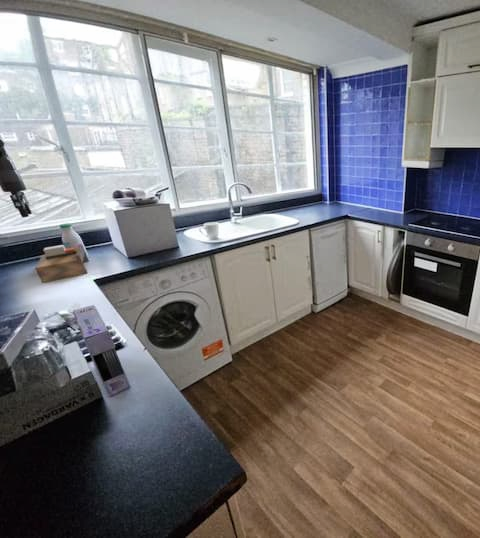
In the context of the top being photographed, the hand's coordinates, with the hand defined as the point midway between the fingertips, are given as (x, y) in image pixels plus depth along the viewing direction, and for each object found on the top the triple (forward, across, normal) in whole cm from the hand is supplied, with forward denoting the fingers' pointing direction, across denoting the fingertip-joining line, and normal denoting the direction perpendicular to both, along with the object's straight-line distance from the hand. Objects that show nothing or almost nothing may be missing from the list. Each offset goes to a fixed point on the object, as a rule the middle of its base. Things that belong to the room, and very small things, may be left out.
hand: (27, 215), depth 140 cm
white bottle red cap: (+21, +5, +6) cm, 22 cm away
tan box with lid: (+28, +8, +6) cm, 30 cm away
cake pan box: (+28, +120, +22) cm, 125 cm away
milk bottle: (+28, -11, +10) cm, 32 cm away
